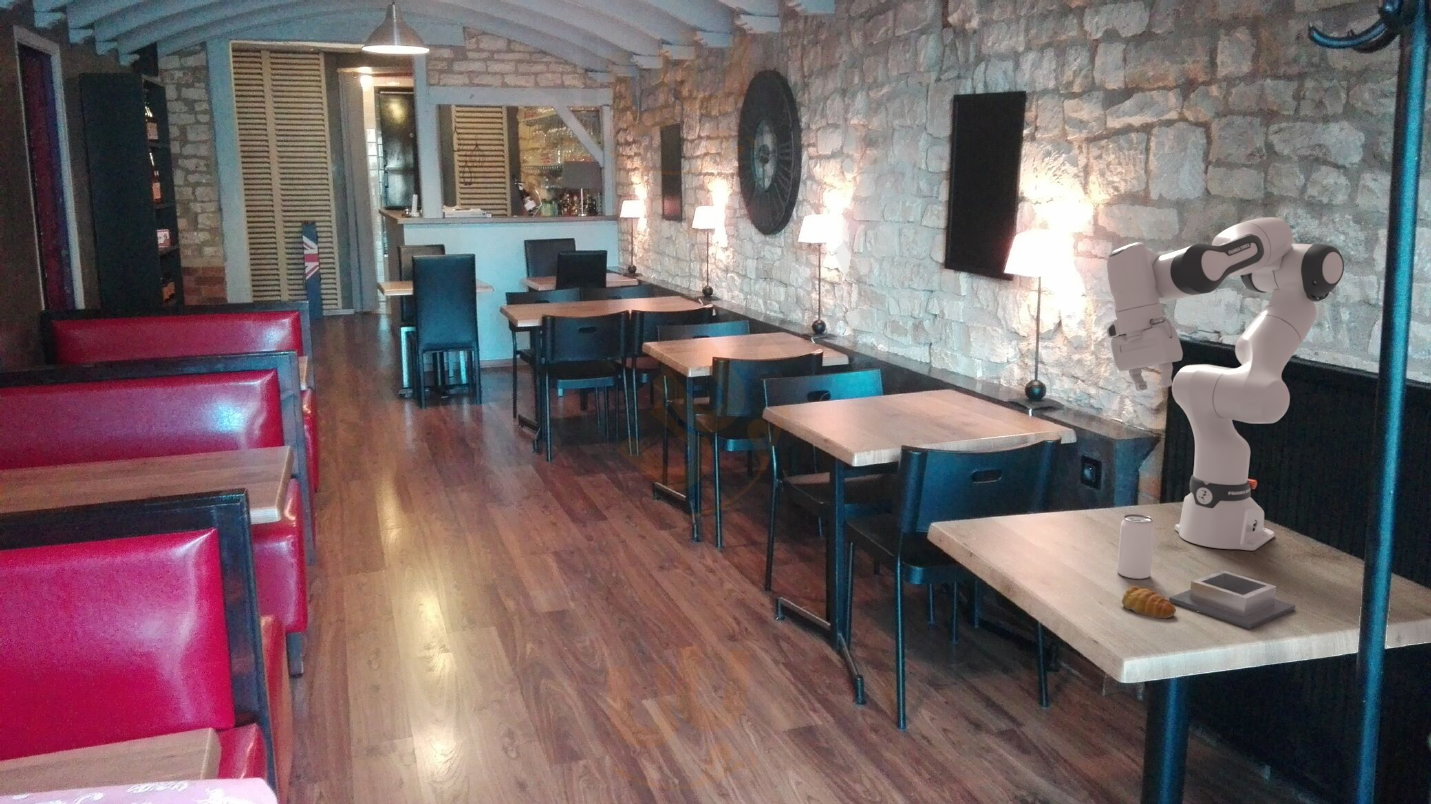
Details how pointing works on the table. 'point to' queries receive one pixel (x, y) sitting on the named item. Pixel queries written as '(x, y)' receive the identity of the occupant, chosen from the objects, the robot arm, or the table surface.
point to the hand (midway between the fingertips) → (1154, 388)
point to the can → (1136, 546)
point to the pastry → (1147, 603)
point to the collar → (1233, 599)
